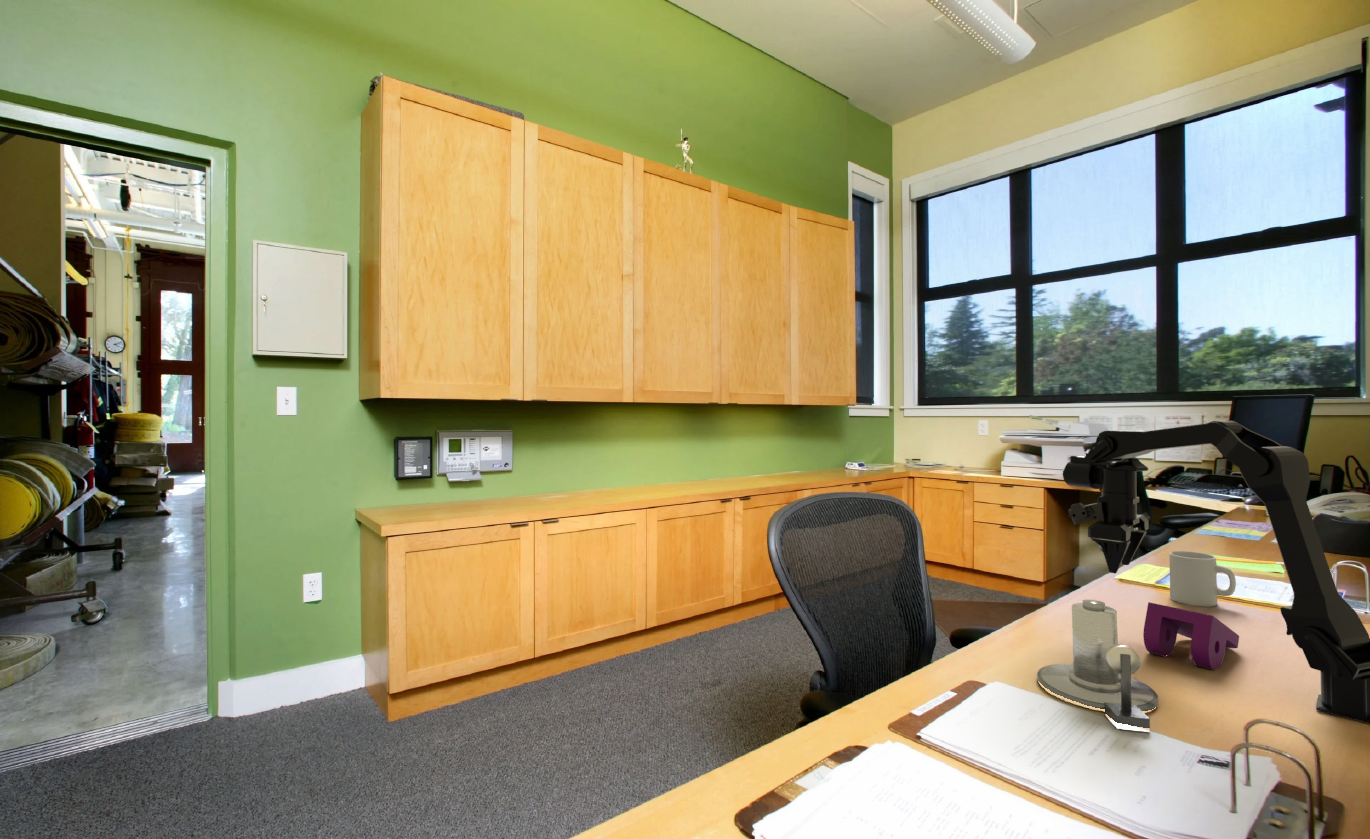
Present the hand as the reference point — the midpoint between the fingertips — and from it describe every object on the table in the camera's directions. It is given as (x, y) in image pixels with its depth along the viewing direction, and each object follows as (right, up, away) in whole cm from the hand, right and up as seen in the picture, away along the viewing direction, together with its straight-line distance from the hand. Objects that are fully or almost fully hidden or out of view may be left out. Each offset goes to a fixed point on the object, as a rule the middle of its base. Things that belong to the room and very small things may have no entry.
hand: (1119, 568), depth 120 cm
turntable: (-22, -14, -24) cm, 35 cm away
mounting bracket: (+7, -14, -10) cm, 18 cm away
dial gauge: (-25, -14, -35) cm, 45 cm away
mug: (+33, -13, +19) cm, 40 cm away
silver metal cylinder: (-22, -12, -24) cm, 35 cm away
